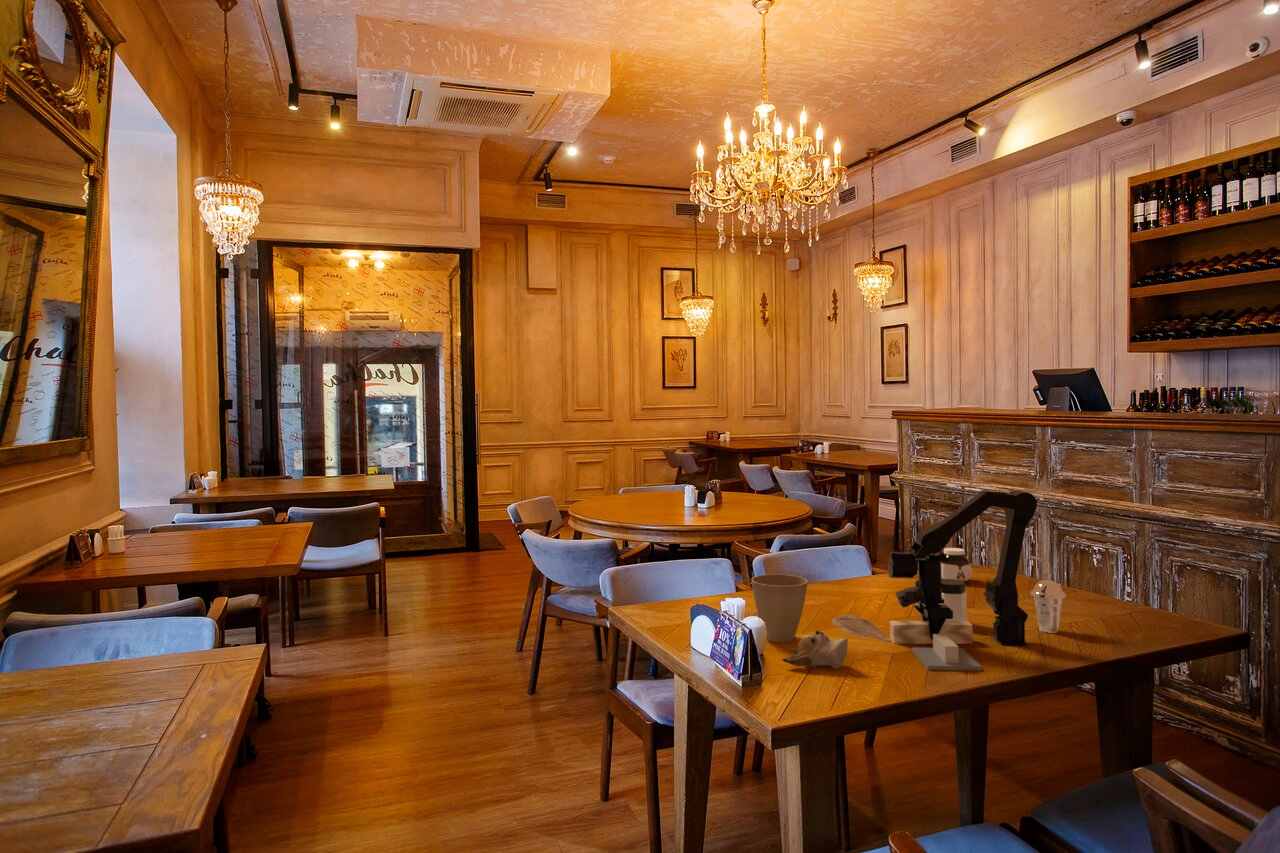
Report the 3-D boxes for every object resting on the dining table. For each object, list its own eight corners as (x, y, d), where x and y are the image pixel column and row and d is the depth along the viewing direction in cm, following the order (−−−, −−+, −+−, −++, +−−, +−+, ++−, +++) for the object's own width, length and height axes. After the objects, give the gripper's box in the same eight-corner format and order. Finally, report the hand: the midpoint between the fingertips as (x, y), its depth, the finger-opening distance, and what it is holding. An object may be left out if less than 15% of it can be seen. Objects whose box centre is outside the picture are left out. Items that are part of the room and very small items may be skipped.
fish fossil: (905, 642, 199) (905, 638, 199) (872, 649, 196) (871, 644, 196) (852, 616, 224) (851, 612, 224) (821, 622, 221) (821, 618, 221)
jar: (973, 626, 212) (972, 583, 211) (950, 629, 209) (949, 586, 209) (950, 618, 220) (949, 577, 220) (927, 621, 217) (926, 579, 217)
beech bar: (967, 639, 200) (966, 620, 200) (972, 644, 196) (972, 625, 196) (890, 639, 201) (889, 620, 201) (894, 644, 197) (893, 625, 197)
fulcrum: (961, 651, 189) (961, 632, 189) (981, 670, 175) (981, 649, 175) (912, 651, 190) (912, 631, 190) (928, 670, 176) (927, 648, 176)
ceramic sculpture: (844, 637, 173) (779, 635, 179) (847, 675, 173) (782, 672, 179) (849, 626, 183) (788, 624, 189) (852, 662, 183) (790, 659, 189)
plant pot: (778, 650, 193) (777, 588, 193) (741, 636, 206) (740, 578, 205) (820, 640, 201) (819, 580, 201) (782, 627, 213) (781, 571, 213)
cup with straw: (1045, 636, 201) (1044, 561, 201) (1022, 626, 210) (1021, 555, 210) (1073, 634, 202) (1072, 559, 202) (1050, 625, 211) (1049, 553, 211)
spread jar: (942, 584, 264) (941, 551, 264) (935, 577, 275) (934, 545, 275) (978, 585, 262) (978, 551, 262) (969, 578, 273) (969, 546, 273)
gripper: (890, 570, 208) (891, 627, 208) (907, 585, 190) (908, 647, 190) (931, 570, 207) (932, 627, 207) (953, 586, 189) (954, 648, 189)
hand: (930, 637), depth 198 cm, fingers closed on beech bar, 4 cm apart
